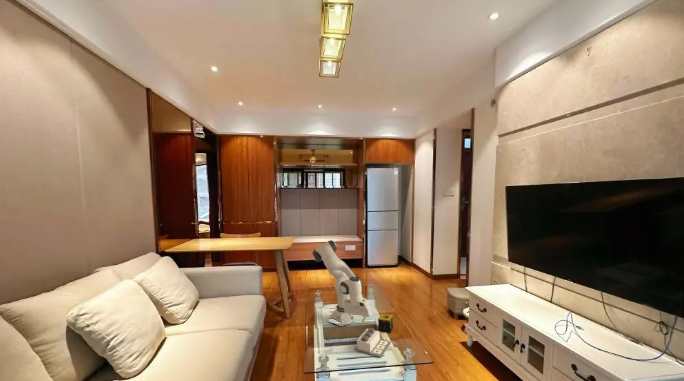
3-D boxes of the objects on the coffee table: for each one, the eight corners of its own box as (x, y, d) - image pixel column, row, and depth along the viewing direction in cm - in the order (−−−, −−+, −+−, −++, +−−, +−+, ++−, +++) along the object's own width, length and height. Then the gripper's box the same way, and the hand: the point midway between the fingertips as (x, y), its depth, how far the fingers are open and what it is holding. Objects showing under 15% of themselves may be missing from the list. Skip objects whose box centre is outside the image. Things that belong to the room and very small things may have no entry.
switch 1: (361, 346, 178) (361, 337, 178) (364, 343, 181) (363, 335, 181) (366, 347, 176) (366, 338, 176) (368, 344, 179) (368, 336, 180)
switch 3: (365, 342, 183) (364, 333, 183) (367, 339, 186) (366, 331, 186) (370, 343, 181) (369, 334, 181) (372, 340, 184) (371, 332, 184)
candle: (378, 331, 201) (377, 319, 201) (381, 325, 210) (380, 313, 211) (391, 333, 197) (390, 320, 197) (393, 327, 207) (392, 314, 207)
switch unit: (354, 350, 179) (353, 340, 179) (365, 336, 195) (365, 327, 195) (380, 358, 169) (380, 347, 169) (390, 342, 185) (390, 333, 185)
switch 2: (368, 338, 188) (368, 329, 188) (370, 335, 191) (370, 327, 191) (373, 339, 186) (372, 330, 186) (375, 336, 189) (374, 328, 189)
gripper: (341, 300, 184) (343, 319, 184) (367, 304, 174) (368, 325, 173) (346, 297, 190) (347, 316, 189) (371, 301, 179) (372, 321, 179)
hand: (357, 320), depth 181 cm, fingers open, 8 cm apart
